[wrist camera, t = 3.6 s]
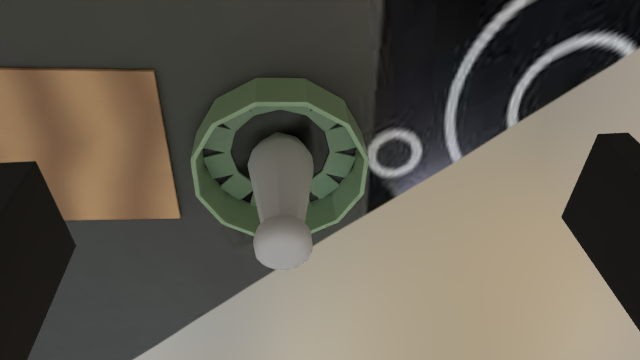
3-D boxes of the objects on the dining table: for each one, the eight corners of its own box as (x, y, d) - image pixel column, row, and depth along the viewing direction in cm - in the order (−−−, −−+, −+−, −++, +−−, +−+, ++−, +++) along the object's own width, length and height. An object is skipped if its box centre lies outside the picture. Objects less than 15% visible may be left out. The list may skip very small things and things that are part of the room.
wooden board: (-31, 219, 46) (-33, 222, 46) (-118, 65, 36) (-122, 68, 36) (180, 215, 48) (180, 218, 48) (154, 69, 38) (153, 71, 37)
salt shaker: (314, 171, 46) (326, 278, 36) (255, 179, 46) (251, 287, 36) (307, 120, 42) (319, 223, 32) (243, 128, 42) (235, 233, 32)
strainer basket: (206, 211, 48) (202, 239, 45) (189, 76, 38) (181, 101, 35) (352, 208, 49) (357, 236, 46) (368, 78, 40) (377, 102, 37)
